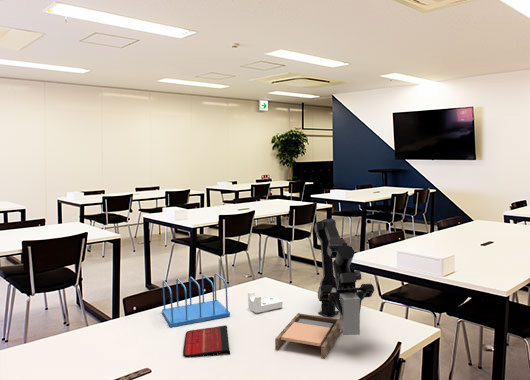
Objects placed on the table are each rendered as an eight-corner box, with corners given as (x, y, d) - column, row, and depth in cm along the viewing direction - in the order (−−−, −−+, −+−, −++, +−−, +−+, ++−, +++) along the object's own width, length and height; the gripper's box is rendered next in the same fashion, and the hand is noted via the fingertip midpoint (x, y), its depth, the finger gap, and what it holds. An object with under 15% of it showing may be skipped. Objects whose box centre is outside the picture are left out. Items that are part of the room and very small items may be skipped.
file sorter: (217, 303, 196) (216, 270, 194) (230, 317, 180) (229, 281, 179) (161, 313, 186) (160, 278, 184) (170, 328, 170) (169, 290, 168)
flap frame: (297, 322, 173) (297, 313, 173) (341, 329, 166) (341, 319, 166) (275, 349, 150) (275, 338, 150) (324, 358, 143) (324, 347, 143)
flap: (299, 325, 169) (299, 315, 168) (334, 331, 163) (334, 320, 163) (281, 348, 150) (281, 336, 150) (320, 354, 145) (320, 343, 145)
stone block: (339, 328, 151) (339, 293, 149) (355, 327, 151) (355, 293, 150) (343, 335, 145) (343, 299, 144) (359, 334, 146) (359, 298, 144)
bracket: (255, 315, 182) (255, 297, 182) (248, 309, 188) (248, 292, 188) (282, 309, 188) (282, 292, 188) (274, 304, 195) (274, 288, 194)
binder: (227, 324, 168) (230, 349, 147) (227, 330, 168) (230, 356, 147) (185, 329, 166) (182, 355, 145) (185, 334, 166) (182, 361, 145)
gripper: (320, 262, 149) (327, 305, 139) (373, 261, 150) (383, 303, 141) (315, 278, 158) (322, 319, 148) (366, 276, 159) (375, 317, 149)
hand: (350, 314), depth 146 cm, fingers closed on stone block, 5 cm apart
